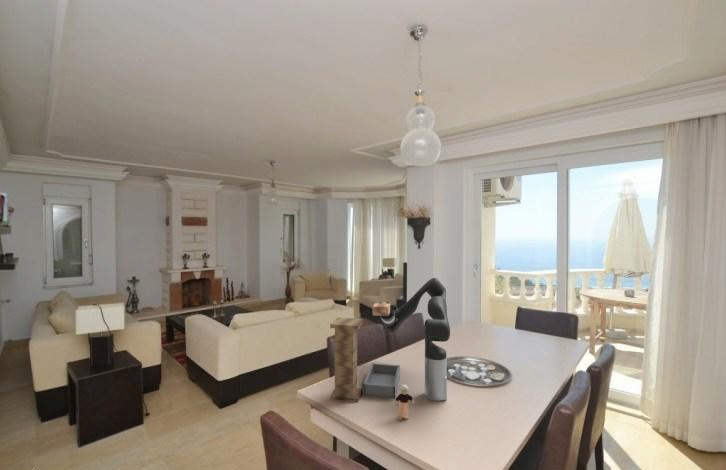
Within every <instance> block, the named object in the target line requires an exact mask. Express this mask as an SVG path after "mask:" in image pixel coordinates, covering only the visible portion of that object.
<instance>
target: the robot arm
mask: <svg viewBox="0 0 726 470" xmlns="http://www.w3.org/2000/svg"><path fill="white" fill-rule="evenodd" d="M425 293H427V294H428V295H429V297H431V298H430V299H429V300H428V302H427V313H428V315H429V317H430V318H427V319H426V320H425V321H424V324H423V325H424V328H423V329H424V330H423V332H424V397H425V398H426V399H427V400H430V401H435V402H441V401H447V399H448V395H447V394H448V391H447V390H448V389H447V388H448V381H447V380H448V377H447V351H446V349H445V348H444V347H441V346H439V345H436V344H435V343H434V342H440V343H442V342H443V343H444V342H447V341H449V340H450V338H451V328H450V327H451V326H450V323H449V319H448V308H447V299H446V298H447V289H446V288H445V286H444V285H443V284H442V283H441V282H440V280H439V279H438V278H437V277H433V278H430V279H429V280H427V282H425V283H424V284H423V285H422V286H421V288H419V289H418V290H417V291H416V293H414V295H412V296H411V297H410V299H409V300H408V301H406V302H405V303H404V304H402V305H401V306H400V307H399V306H396V305H395V304H390V303H389V302H388V301H387V302H386V304H390V314H389V316H380V319H381V322H382V324H383V325H384V327H385V329H386V330H387V331H388V333H390V334H391V333H392V334H393V333H396V332H397V331H398V330H399V329H400V327H401V326H402V325H403V323H404V322H405V321H406V320H407V319H408V318H410V317H411V316H412V315H414V313H415V312H416V311H417V309H418V306H419V304H420V301H421V299H422V297H423V296H424V294H425ZM379 303H383V301H379ZM396 315H397V318H396Z"/></svg>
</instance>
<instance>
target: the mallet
mask: <svg viewBox="0 0 726 470" xmlns="http://www.w3.org/2000/svg"><path fill="white" fill-rule="evenodd" d="M390 306H391V303H389V304H386V302H383V301H382V303H380V302H377V303H376V302H374V304H373V305H372V316H378V317H379V316H389V314H390Z"/></svg>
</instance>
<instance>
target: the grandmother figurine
mask: <svg viewBox="0 0 726 470" xmlns="http://www.w3.org/2000/svg"><path fill="white" fill-rule="evenodd" d="M399 389H400V393H399V394H398V395H397V397H395V400H394V402H393V404H394V405H397V403H398V402H399V403H398V414H397V415H398V416H397V420H399V421H401V420H403V419H404V420H410V417H409V406H410V405H409V401H410V403H411V404H415V401H414V397H412V395H410V394H409V393H408V392H409V391H410V388H409V387H408V385H406V384H401V385H400V386H399Z"/></svg>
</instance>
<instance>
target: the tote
mask: <svg viewBox="0 0 726 470" xmlns="http://www.w3.org/2000/svg"><path fill="white" fill-rule="evenodd" d="M400 377H401V365H400V364H399V365H398V364H387V363H386V364H384V363H375V362H373V363H371V365H370V368H369V370H368V372H367V375H365V379H364V381H363V384H362V386H363V387H362V395H363V396H364V397H365V396H366V397H376V398H386V399H387V398H388V399H396V398H397V397H396V396H397V391H398V387H399V382H400Z"/></svg>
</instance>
